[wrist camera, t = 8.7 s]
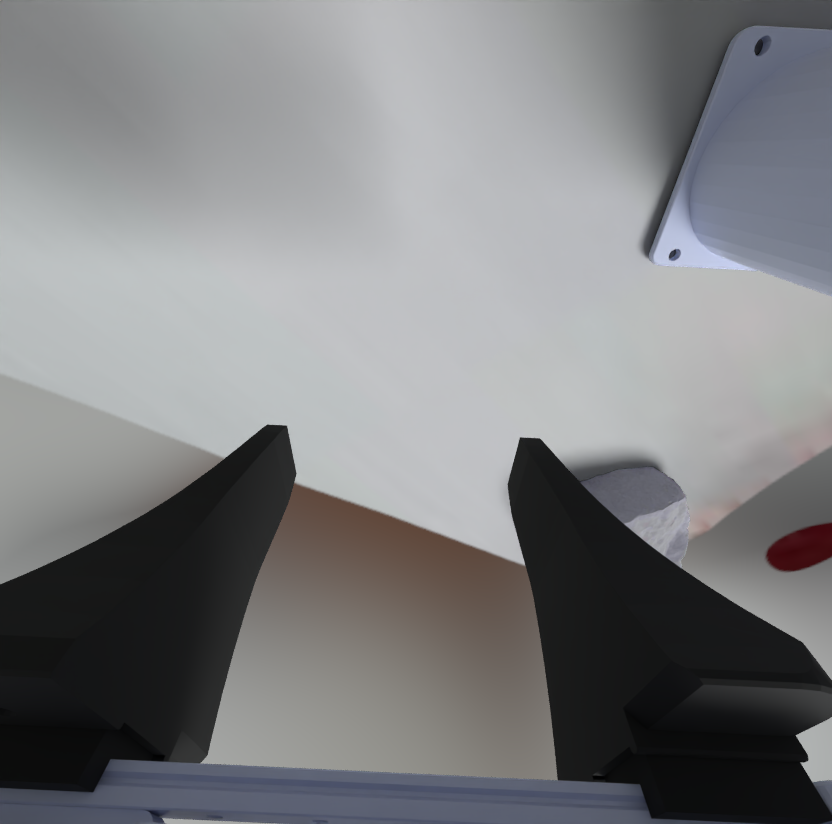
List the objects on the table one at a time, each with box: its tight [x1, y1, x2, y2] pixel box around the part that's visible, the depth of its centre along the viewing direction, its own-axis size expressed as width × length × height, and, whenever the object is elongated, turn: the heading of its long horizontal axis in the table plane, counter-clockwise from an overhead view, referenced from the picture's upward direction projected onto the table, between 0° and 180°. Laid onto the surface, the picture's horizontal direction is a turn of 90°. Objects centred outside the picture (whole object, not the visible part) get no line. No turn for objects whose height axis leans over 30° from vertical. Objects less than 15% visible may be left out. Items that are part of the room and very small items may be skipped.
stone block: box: [580, 467, 690, 568], centre depth 28 cm, size 12×5×10 cm
